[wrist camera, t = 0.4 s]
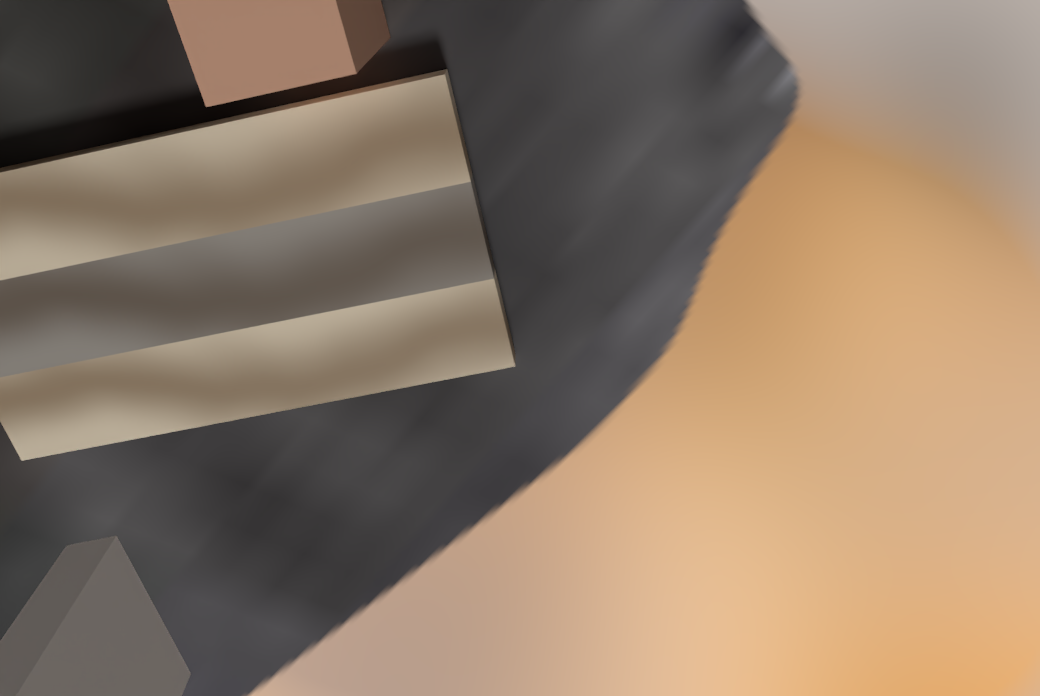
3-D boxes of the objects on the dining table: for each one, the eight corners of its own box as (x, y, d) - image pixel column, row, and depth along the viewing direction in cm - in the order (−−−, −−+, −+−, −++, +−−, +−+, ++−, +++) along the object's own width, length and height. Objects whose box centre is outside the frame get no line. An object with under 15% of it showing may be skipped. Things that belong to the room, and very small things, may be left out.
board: (-102, 190, 35) (-121, 199, 34) (447, 68, 33) (444, 74, 32) (34, 445, 40) (21, 460, 39) (515, 353, 38) (515, 366, 37)
